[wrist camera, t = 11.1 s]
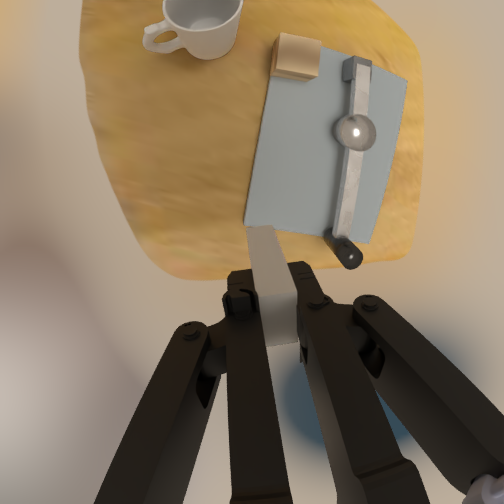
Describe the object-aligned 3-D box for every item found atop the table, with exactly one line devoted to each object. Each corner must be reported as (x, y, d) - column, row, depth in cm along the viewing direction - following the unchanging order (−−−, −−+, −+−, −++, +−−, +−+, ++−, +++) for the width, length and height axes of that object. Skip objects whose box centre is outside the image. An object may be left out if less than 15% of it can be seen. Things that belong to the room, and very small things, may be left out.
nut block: (273, 43, 26) (280, 32, 22) (309, 50, 27) (321, 40, 23) (269, 75, 28) (276, 68, 24) (306, 82, 29) (317, 76, 25)
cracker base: (277, 38, 27) (282, 30, 24) (402, 81, 30) (414, 79, 27) (243, 222, 37) (244, 230, 34) (365, 240, 40) (374, 249, 37)
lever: (336, 58, 27) (362, 45, 20) (367, 67, 27) (397, 57, 21) (315, 243, 37) (333, 269, 31) (344, 244, 38) (366, 269, 31)
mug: (225, 10, 24) (225, -36, 14) (246, 50, 27) (256, 15, 17) (150, 41, 25) (118, 9, 15) (169, 82, 28) (142, 62, 17)
